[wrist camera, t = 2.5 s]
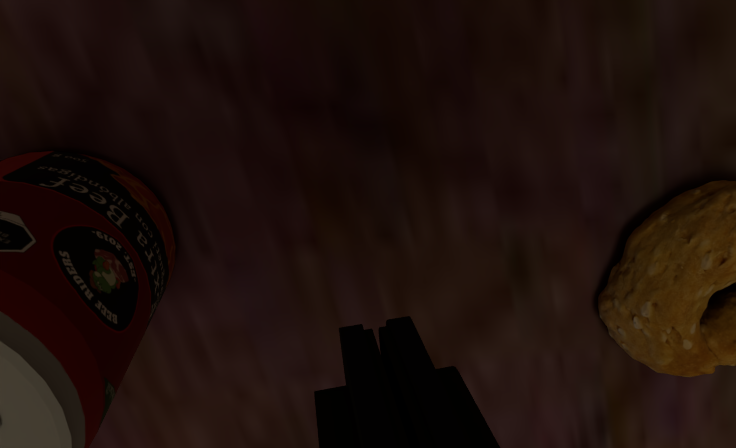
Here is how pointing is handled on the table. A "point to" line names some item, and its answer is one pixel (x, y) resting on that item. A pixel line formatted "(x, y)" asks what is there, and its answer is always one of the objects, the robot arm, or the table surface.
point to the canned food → (73, 291)
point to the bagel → (678, 285)
